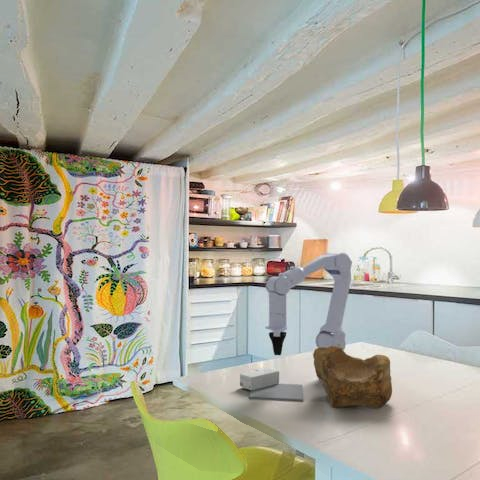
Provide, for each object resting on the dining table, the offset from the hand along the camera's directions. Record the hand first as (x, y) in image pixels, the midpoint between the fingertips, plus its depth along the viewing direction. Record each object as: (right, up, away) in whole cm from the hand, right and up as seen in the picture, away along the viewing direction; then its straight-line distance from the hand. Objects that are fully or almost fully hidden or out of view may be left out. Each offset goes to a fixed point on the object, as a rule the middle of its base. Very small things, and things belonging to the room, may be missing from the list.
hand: (277, 354), depth 134 cm
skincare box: (-1, -8, +3) cm, 9 cm away
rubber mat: (-1, -10, -6) cm, 12 cm away
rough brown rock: (+19, -10, -15) cm, 26 cm away
